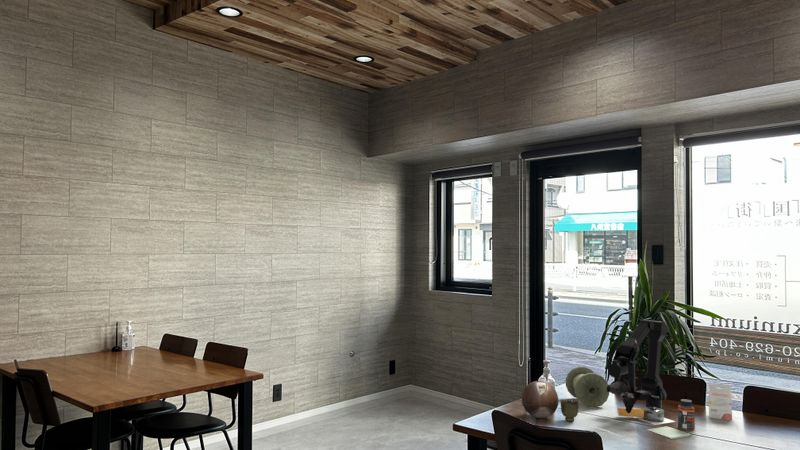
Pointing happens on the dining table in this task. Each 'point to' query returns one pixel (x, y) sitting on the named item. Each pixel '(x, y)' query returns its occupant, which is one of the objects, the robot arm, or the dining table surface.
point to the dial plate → (655, 422)
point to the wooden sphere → (540, 399)
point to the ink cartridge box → (720, 401)
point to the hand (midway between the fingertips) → (628, 413)
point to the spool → (587, 387)
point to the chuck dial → (644, 413)
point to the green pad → (669, 432)
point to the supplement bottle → (686, 415)
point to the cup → (569, 409)
